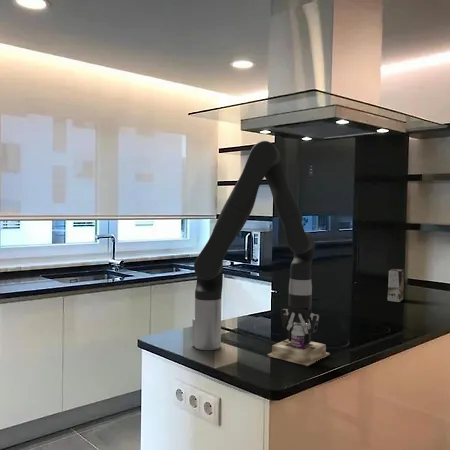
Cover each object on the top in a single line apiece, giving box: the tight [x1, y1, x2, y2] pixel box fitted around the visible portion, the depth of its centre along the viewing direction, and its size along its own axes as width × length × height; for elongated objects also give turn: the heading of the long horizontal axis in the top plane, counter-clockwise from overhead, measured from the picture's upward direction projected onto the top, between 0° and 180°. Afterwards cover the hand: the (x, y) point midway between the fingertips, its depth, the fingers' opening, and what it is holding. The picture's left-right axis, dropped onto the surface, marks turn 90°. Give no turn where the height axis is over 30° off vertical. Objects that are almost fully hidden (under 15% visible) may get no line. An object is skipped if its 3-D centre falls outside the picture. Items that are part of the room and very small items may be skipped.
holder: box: [267, 338, 331, 367], centre depth 164 cm, size 15×15×4 cm
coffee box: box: [387, 268, 405, 303], centre depth 260 cm, size 9×6×16 cm
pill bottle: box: [291, 322, 307, 350], centre depth 164 cm, size 5×5×10 cm
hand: (298, 342), depth 164 cm, fingers closed on pill bottle, 5 cm apart
